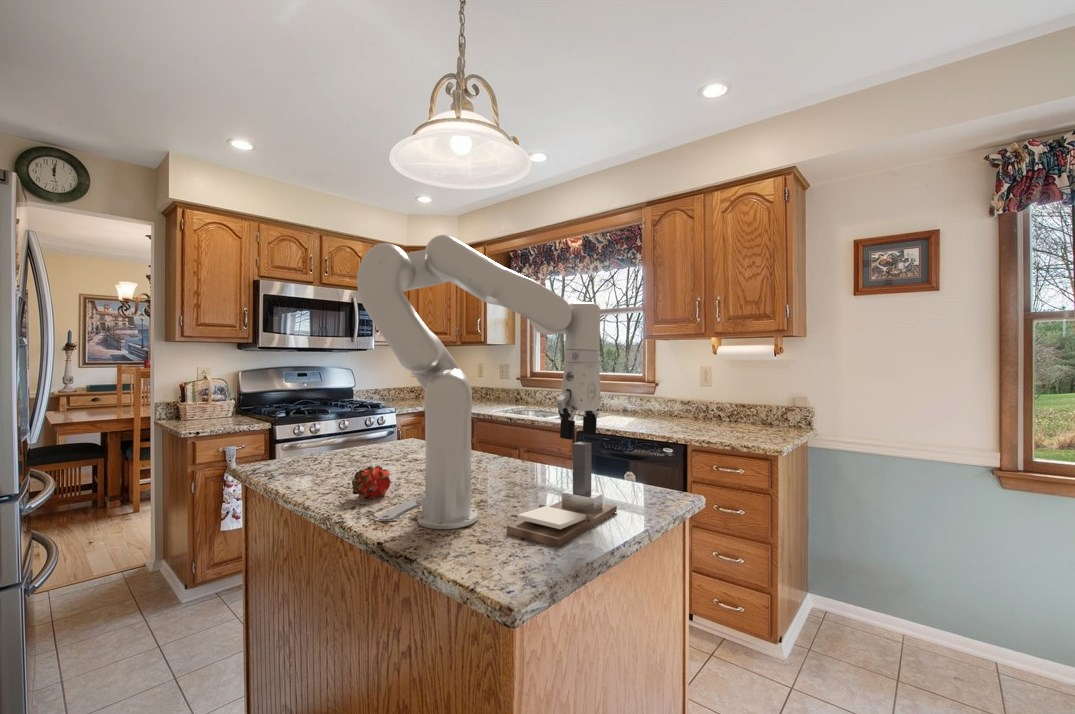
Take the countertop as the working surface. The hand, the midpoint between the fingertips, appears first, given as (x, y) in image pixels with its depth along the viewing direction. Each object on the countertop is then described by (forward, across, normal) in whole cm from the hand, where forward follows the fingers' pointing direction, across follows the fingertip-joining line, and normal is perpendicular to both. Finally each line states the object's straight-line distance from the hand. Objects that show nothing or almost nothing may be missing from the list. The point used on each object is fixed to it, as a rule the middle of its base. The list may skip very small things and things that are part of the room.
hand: (578, 436), depth 105 cm
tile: (+14, -11, -1) cm, 18 cm away
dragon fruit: (+19, -18, +47) cm, 54 cm away
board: (+17, -6, -1) cm, 18 cm away
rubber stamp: (+16, +1, -1) cm, 16 cm away
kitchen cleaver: (+19, -16, +35) cm, 43 cm away
